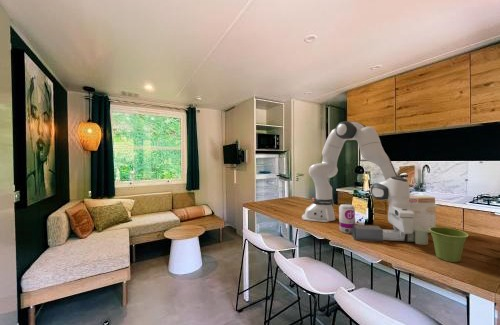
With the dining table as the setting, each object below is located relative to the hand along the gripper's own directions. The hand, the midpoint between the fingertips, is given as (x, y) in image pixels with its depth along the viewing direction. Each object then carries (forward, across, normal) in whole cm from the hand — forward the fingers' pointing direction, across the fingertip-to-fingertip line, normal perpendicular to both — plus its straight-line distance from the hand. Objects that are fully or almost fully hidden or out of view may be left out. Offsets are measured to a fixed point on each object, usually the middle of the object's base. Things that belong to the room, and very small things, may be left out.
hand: (399, 236), depth 107 cm
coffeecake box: (+2, -17, +15) cm, 23 cm away
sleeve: (+2, 0, -15) cm, 15 cm away
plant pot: (+2, +18, +10) cm, 21 cm away
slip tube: (+2, 0, -5) cm, 5 cm away
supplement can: (+2, -10, -23) cm, 25 cm away
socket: (+2, 0, +8) cm, 8 cm away
